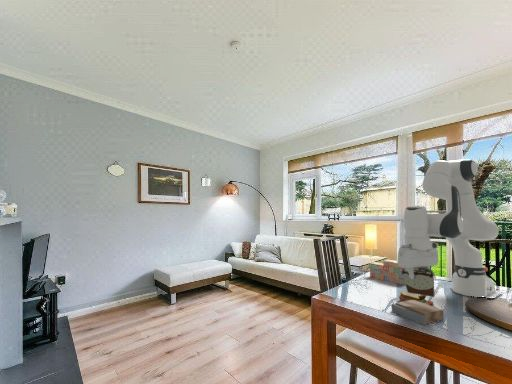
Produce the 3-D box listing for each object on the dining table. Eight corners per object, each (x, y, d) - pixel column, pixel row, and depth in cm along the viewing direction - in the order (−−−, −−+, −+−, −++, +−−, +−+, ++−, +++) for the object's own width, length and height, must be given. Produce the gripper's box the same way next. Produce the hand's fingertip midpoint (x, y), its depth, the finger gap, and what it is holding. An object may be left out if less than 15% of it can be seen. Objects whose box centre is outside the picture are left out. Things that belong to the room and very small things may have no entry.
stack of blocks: (369, 277, 158) (369, 258, 158) (374, 275, 161) (374, 257, 162) (405, 285, 140) (404, 263, 141) (409, 283, 144) (408, 262, 145)
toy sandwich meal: (434, 312, 103) (434, 300, 104) (398, 305, 111) (397, 294, 111) (433, 303, 114) (433, 292, 114) (400, 297, 121) (399, 287, 122)
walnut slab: (414, 308, 107) (413, 299, 107) (443, 320, 96) (442, 309, 96) (396, 312, 103) (395, 302, 104) (424, 324, 92) (423, 313, 92)
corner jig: (411, 306, 108) (411, 299, 109) (445, 320, 95) (445, 312, 95) (391, 310, 104) (391, 303, 104) (424, 325, 91) (424, 317, 91)
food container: (441, 290, 99) (437, 267, 99) (439, 298, 95) (434, 273, 95) (407, 285, 108) (403, 264, 108) (403, 292, 104) (399, 269, 103)
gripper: (406, 246, 95) (408, 282, 94) (440, 243, 102) (442, 277, 101) (392, 244, 101) (394, 278, 100) (425, 242, 108) (427, 273, 107)
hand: (418, 277), depth 101 cm, fingers closed on food container, 6 cm apart
